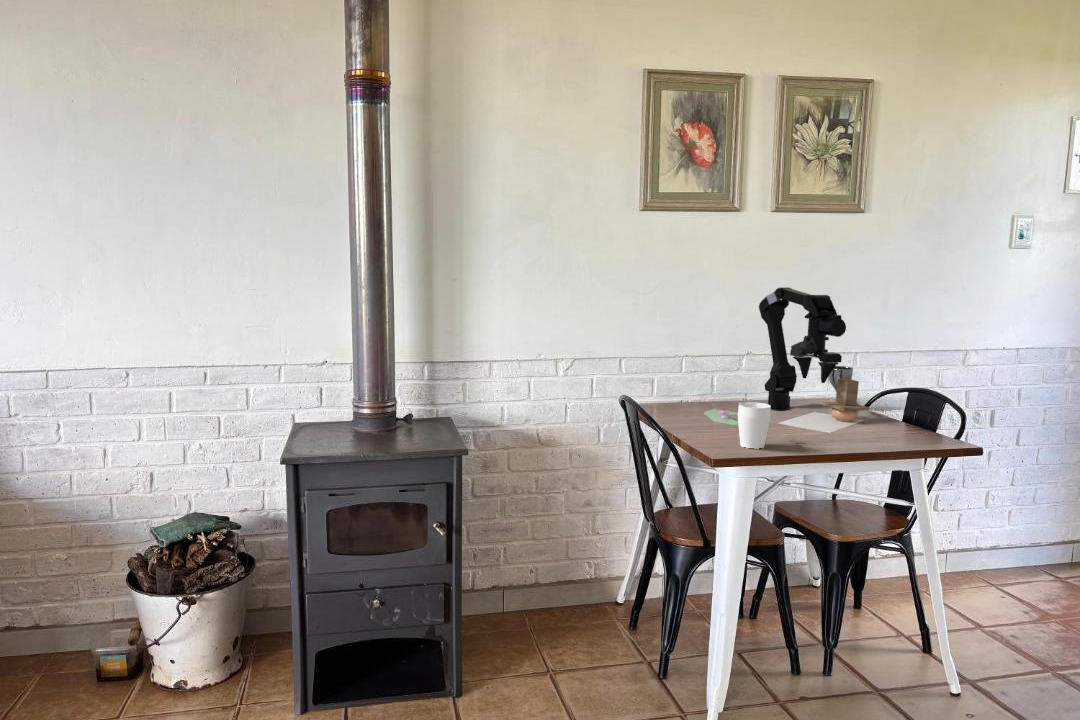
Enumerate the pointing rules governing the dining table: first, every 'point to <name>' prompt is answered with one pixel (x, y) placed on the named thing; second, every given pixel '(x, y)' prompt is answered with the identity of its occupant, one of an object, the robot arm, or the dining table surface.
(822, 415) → the mat
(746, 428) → the cup
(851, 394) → the lid
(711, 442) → the dining table surface
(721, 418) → the plant
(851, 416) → the bowl
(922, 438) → the dining table surface
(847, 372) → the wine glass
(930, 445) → the dining table surface
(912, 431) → the dining table surface
